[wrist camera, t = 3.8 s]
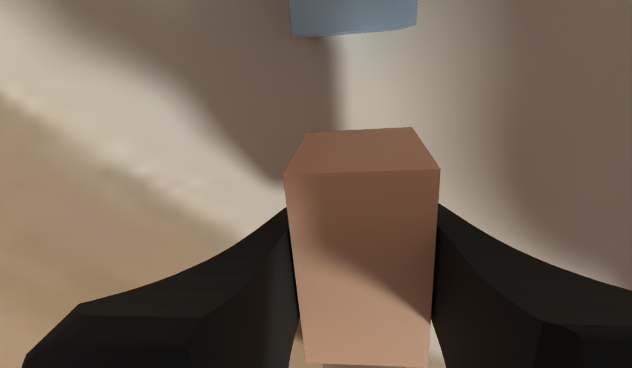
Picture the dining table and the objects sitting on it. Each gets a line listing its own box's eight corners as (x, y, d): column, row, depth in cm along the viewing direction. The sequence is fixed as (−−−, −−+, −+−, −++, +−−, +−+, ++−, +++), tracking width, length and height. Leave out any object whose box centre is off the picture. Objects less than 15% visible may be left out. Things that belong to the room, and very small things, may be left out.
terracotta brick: (411, 127, 11) (440, 168, 7) (407, 277, 13) (427, 367, 10) (305, 132, 11) (283, 174, 8) (319, 277, 14) (305, 362, 10)
